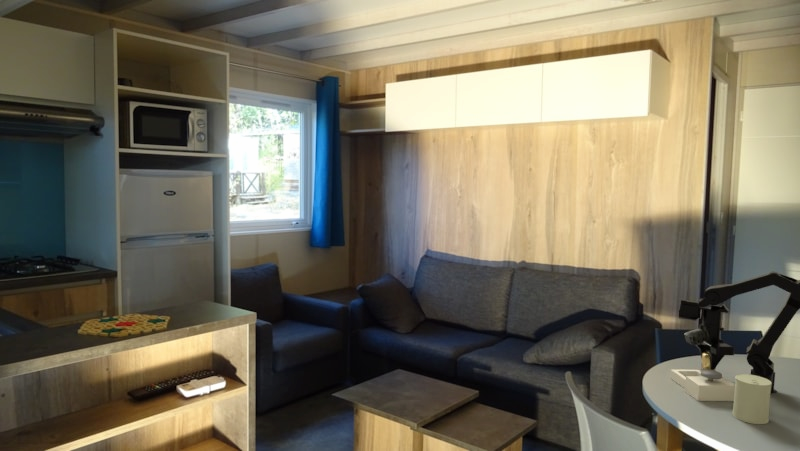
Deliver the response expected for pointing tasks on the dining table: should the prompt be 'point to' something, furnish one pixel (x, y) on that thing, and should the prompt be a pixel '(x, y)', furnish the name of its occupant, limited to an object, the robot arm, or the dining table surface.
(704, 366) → the brass cylinder
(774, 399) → the dining table surface
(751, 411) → the can
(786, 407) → the dining table surface
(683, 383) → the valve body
